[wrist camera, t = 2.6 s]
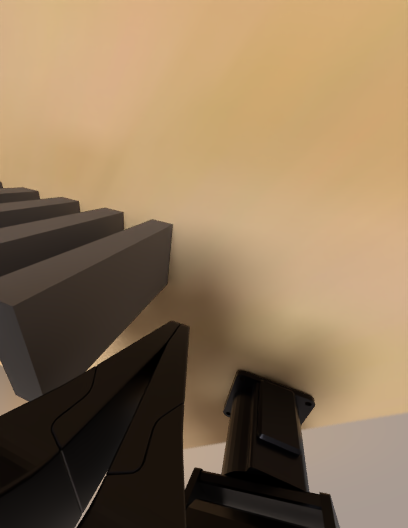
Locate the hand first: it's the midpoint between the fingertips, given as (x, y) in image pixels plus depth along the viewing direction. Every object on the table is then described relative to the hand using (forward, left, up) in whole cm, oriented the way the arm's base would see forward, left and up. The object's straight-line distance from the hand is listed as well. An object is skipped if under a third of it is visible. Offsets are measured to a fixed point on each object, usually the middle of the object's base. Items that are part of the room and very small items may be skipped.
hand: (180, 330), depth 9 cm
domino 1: (0, +4, -7) cm, 8 cm away
